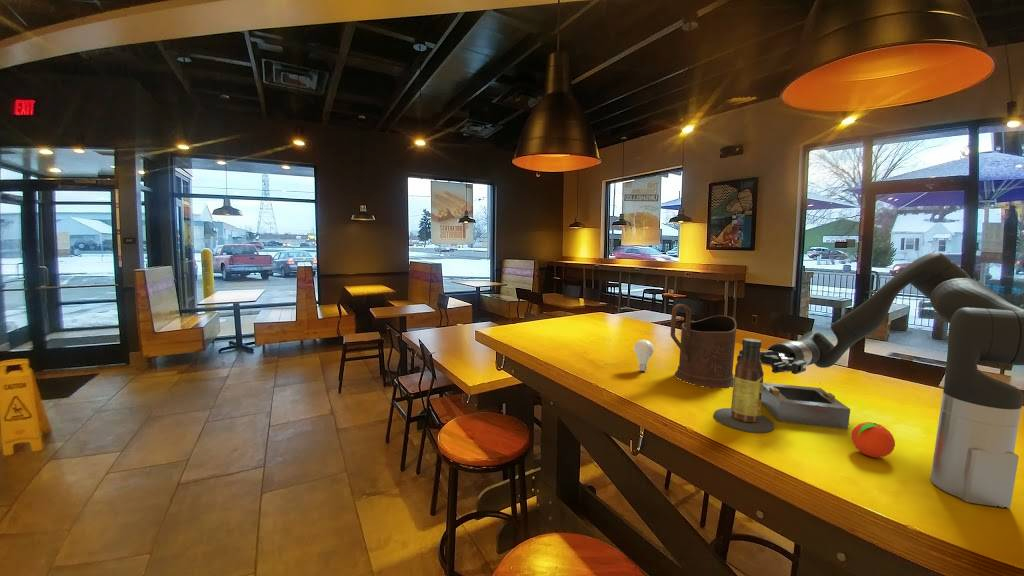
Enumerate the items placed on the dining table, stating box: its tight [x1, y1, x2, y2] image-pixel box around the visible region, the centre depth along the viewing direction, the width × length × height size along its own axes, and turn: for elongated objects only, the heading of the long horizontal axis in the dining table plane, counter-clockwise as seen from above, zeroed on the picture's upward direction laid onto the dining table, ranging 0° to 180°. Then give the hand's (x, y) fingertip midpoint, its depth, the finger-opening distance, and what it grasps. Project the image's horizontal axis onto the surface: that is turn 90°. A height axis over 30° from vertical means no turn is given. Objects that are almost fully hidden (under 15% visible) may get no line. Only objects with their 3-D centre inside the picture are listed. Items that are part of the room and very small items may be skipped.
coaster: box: [713, 407, 775, 434], centre depth 102 cm, size 13×13×1 cm
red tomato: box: [850, 421, 896, 458], centre depth 86 cm, size 8×7×7 cm
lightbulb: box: [633, 339, 655, 372], centre depth 140 cm, size 6×6×11 cm
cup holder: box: [670, 303, 738, 389], centre depth 132 cm, size 18×24×25 cm
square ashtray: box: [761, 382, 851, 430], centre depth 108 cm, size 15×15×6 cm
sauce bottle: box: [730, 338, 765, 423], centre depth 101 cm, size 7×6×20 cm
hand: (755, 364), depth 103 cm, fingers open, 8 cm apart
